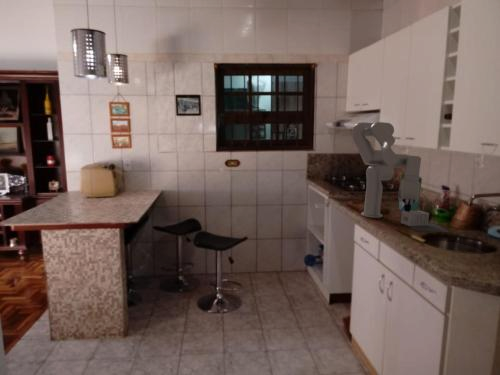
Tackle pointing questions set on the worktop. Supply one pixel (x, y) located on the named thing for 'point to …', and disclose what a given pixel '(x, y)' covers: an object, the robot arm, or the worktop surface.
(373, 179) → the robot arm
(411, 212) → the supplement box
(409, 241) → the worktop surface
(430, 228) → the mat
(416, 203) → the milk carton
